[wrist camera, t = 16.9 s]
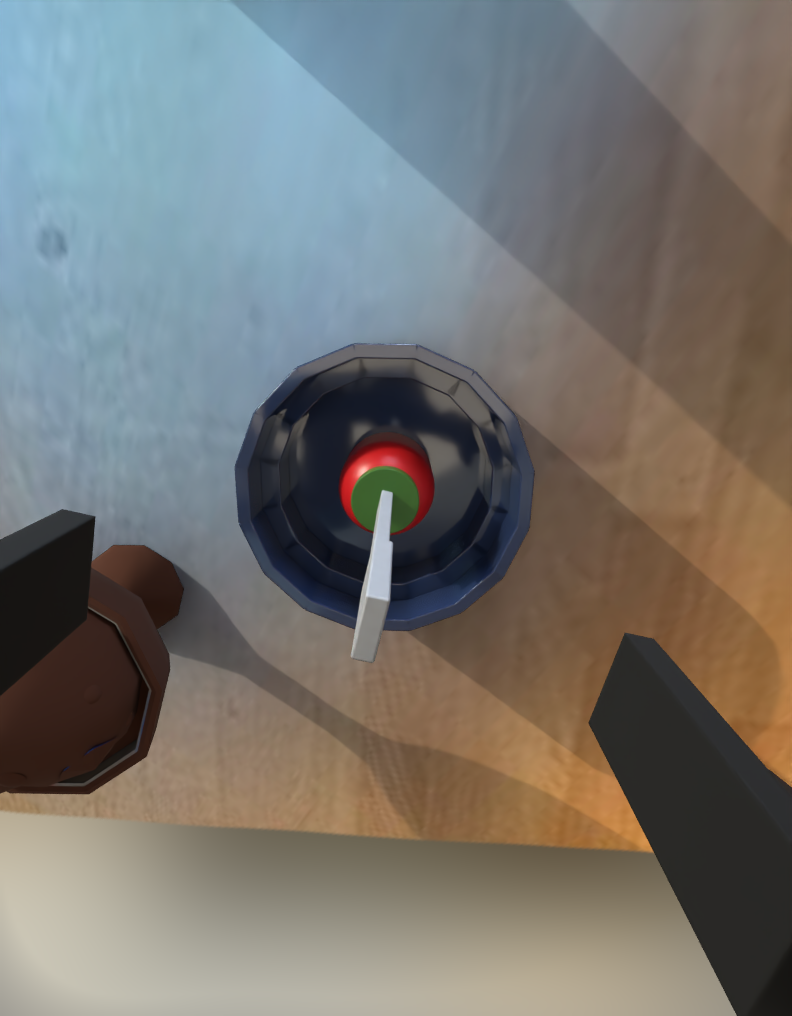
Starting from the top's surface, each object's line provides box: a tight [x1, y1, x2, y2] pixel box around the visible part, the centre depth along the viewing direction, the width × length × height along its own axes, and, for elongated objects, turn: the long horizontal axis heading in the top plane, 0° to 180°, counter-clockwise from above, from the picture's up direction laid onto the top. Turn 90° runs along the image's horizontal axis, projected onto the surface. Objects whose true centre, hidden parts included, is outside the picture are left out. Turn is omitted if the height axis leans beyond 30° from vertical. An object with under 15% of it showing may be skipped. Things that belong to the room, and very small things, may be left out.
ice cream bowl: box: [0, 545, 184, 794], centre depth 24 cm, size 11×11×15 cm
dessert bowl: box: [235, 343, 535, 631], centre depth 27 cm, size 13×13×5 cm
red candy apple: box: [339, 432, 435, 663], centre depth 21 cm, size 5×5×16 cm
